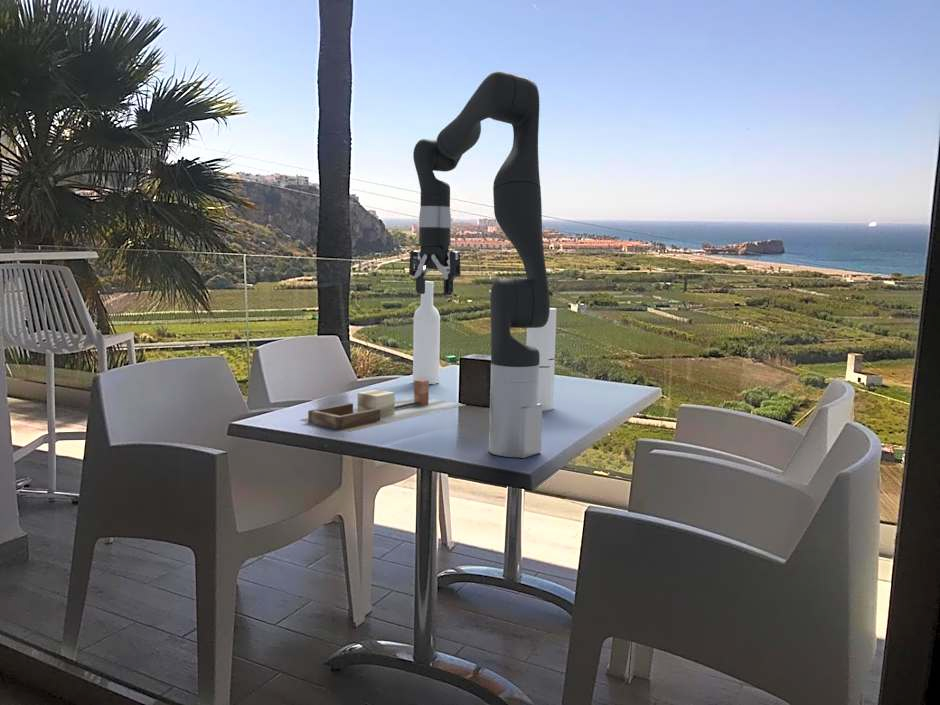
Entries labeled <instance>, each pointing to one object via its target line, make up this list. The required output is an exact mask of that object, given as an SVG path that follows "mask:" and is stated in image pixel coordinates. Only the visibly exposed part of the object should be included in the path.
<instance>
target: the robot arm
mask: <svg viewBox="0 0 940 705" xmlns="http://www.w3.org/2000/svg"><path fill="white" fill-rule="evenodd" d="M486 119H490V120H491V119H492V120H494V121H498V122H502V123H506V124H510V125H511V127H512V132H513V140H512V141H513V142H512V148H511V150H510V152H509V154H508V156H506V158H505V160H504V161H503V163H502V164H501V166H500V168H499V170H498V171H497V173H496V176H495V178H494V181H493V186H492V187H493V189H492V191H493V212H494V217H495V220H496V222H497V224H498V226H499V227H500V229H501V230H502V233H504V235H505V237H507V239H508V241H509V242H510V243H511V244H512V246H513V247H514V249H515V250H516V252H517V253H518V255H519V257H520V259H521V262H522V264H523V268H524V271H525V275H526V278H500V279H499V278H498V279H496V280H495V281H494V282H493V283H492V286H491V289H490V304H489V305H490V308H489V311H490V325H491V326H490V334H491V335H490V383H489V385H490V387H489V388H490V390H489V393H490V394H489V426H488V427H489V428H488V434H489V435H488V451H489V453H491V454H493V455H496V456H499V457H505V458H520V459H525V458H528V457H531V456H534V455H537V454H539V453H541V452H542V436H543V435H542V431H543V430H542V428H543V427H542V426H543V411H542V404H540V403H538V389H539V360H540V354H539V351H538V350H537V349H536V348H534V347H531V346H528V345H526V344H525V343H522V342H520V341H519V340H517V339H515V337H514V336H512V334H511V329H527V328H539V327H543V326H545V325H546V323H547V321H548V318H549V312H550V308H551V307H550V305H551V304H550V303H551V302H550V301H551V300H550V290H549V281H548V274H547V266H546V260H545V250H544V240H543V236H544V235H543V218H542V216H543V215H542V214H543V212H542V211H543V210H542V209H543V208H542V191H541V188H542V187H541V179H540V167H539V166H540V165H539V164H540V163H539V125H540V122H539V121H540V93H539V89H538V85H537V84H536V82H535V81H533V80H532V79H530V78H528V77H524V76H520V75H516V74H515V73H511V72H507V71H502V70H496V71H495V70H494V71H493V72H491V73H490V74H488V76H486V77H485V78H484V79H483V80H482V82H481V83H480V84H479V86H478V87H477V89H476V90H475V92H474V93H473V94H472V95H471V97H470V98H469V100H468V101H467V103H466V104H465V105H464V107H463V109H462V110H461V111H460V113H459V114H458V115H457V116H456V117H455V118H454V119H453V120H452V121H451V122H449V123H448V124H447V125H446V126H445V127H444V128H443V129H442V130H440V131H439V133H438V135H437V137H436V139H430V138H422V139H420V140H418V141H417V143H415V146H414V148H413V151H412V152H413V156H412V157H413V158H412V159H413V161H414V162H413V164H414V167H415V170H416V171H415V172H416V174H417V178H418V184H419V187H420V188H419V189H420V209H419V216H418V217H419V218H418V221H419V222H418V224H419V225H418V226H419V227H418V228H419V229H418V245H419V247H420V250H411V251H410V252H409V268H408V269H409V270H408V271H409V272H408V274H409V276H412V277H414V278H415V291H416V294H418V295H421V294H424V293H425V281H426V278H425V277H426V275H427V274H428V272H430V271H431V270H438V271H439V273H441V275H442V276H443V278H444V279H443V295H444V296H451V295H453V292H454V280H455V279H456V278H460V277H461V274H462V273H461V253H460V251H458V250H457V251H456V250H451V251H450V249H449V248H450V246H451V239H452V238H451V236H452V235H451V234H452V233H451V232H452V231H451V230H452V228H451V225H452V224H451V223H452V217H451V216H452V214H451V187H450V184H449V183H448V182H445V181H443V180H440V179H438V178H437V177H436V175H435V173H434V172H445V173H446V172H450V171H453V170H455V169H456V167H457V166H458V164H459V162H460V160H461V159H462V157H463V155H464V154H466V152H468V151H469V150H471V148H473V147H474V146H475V145H476V144H477V143H478V141H479V139H480V137H481V133H482V132H481V131H482V124H481V122H482V121H484V120H486Z"/></svg>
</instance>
